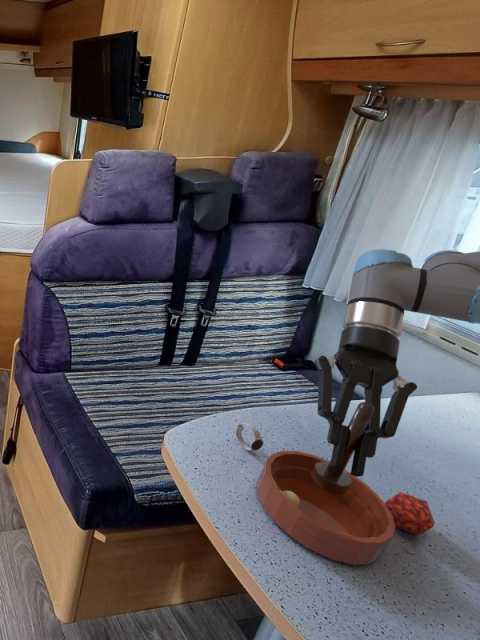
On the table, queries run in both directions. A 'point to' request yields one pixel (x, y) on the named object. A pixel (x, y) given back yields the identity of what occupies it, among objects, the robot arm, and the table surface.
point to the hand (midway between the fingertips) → (346, 470)
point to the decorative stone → (410, 513)
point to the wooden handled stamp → (338, 478)
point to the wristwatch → (256, 441)
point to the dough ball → (292, 498)
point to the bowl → (325, 510)
